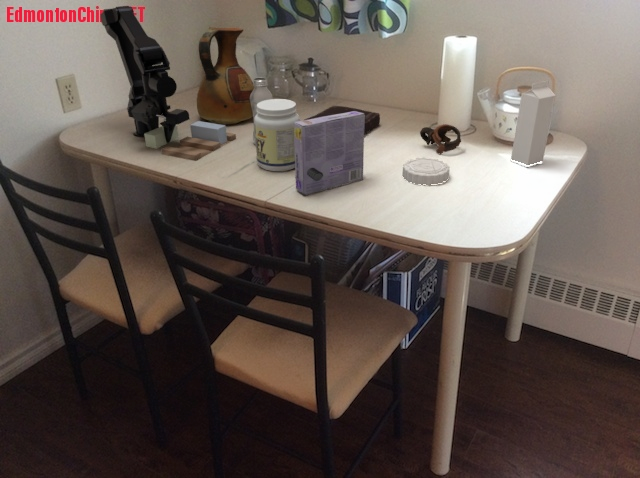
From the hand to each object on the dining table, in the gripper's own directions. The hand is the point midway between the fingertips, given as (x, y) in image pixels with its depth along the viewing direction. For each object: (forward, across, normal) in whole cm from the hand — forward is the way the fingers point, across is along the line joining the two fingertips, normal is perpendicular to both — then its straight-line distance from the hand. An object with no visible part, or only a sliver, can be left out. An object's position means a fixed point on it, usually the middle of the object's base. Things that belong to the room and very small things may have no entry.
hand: (162, 141), depth 172 cm
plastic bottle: (+1, +28, +12) cm, 31 cm away
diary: (+2, +42, +33) cm, 54 cm away
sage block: (+1, 0, 0) cm, 1 cm away
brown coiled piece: (+2, +76, +32) cm, 82 cm away
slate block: (0, +12, +7) cm, 14 cm away
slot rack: (+1, +12, +2) cm, 13 cm away
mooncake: (+2, +78, +11) cm, 79 cm away
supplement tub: (+1, +40, +2) cm, 40 cm away
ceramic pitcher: (+2, +4, +28) cm, 28 cm away
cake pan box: (+2, +58, -4) cm, 59 cm away
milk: (+1, +100, +32) cm, 105 cm away
